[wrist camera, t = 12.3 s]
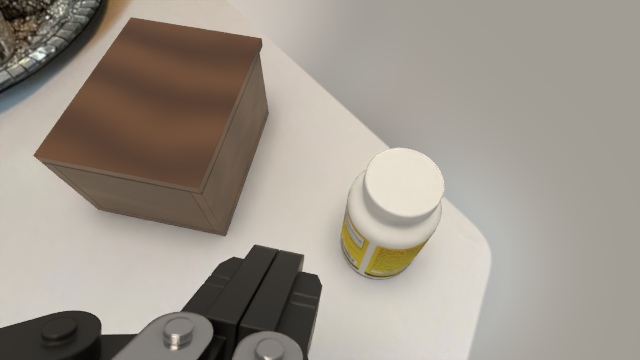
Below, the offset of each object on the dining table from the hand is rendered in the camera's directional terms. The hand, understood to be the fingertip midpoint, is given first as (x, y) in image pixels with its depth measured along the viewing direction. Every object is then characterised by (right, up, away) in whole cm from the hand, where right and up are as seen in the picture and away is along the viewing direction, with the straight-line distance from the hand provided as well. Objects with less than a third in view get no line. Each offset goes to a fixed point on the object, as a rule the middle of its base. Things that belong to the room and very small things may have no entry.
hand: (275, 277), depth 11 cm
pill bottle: (+6, -3, +20) cm, 21 cm away
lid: (-11, +9, +17) cm, 22 cm away
